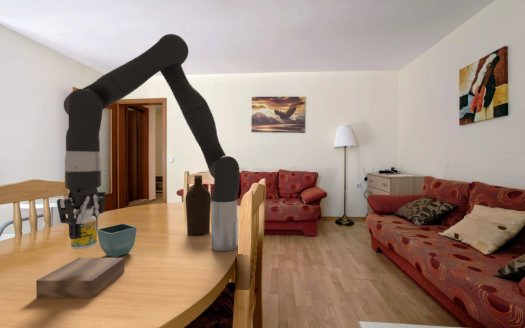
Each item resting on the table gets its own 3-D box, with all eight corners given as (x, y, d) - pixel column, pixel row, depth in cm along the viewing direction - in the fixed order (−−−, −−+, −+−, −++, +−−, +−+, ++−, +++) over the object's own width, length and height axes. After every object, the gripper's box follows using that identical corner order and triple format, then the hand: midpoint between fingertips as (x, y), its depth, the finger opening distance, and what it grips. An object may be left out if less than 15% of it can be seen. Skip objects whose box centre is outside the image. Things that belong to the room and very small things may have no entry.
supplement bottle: (97, 241, 67) (96, 206, 66) (96, 247, 62) (96, 209, 62) (72, 244, 64) (71, 208, 63) (69, 251, 59) (69, 212, 59)
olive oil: (213, 234, 103) (213, 175, 102) (187, 238, 99) (186, 176, 98) (208, 228, 113) (208, 174, 112) (184, 230, 108) (184, 175, 108)
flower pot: (110, 262, 76) (110, 233, 76) (96, 256, 81) (96, 229, 80) (137, 252, 83) (137, 226, 83) (123, 247, 88) (123, 223, 88)
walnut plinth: (124, 271, 69) (124, 257, 69) (92, 297, 56) (92, 280, 56) (79, 271, 69) (78, 257, 69) (36, 297, 56) (36, 280, 56)
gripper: (76, 170, 55) (77, 244, 56) (115, 168, 70) (115, 227, 70) (43, 170, 55) (44, 244, 56) (89, 168, 70) (89, 227, 70)
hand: (84, 234), depth 63 cm, fingers closed on supplement bottle, 5 cm apart
